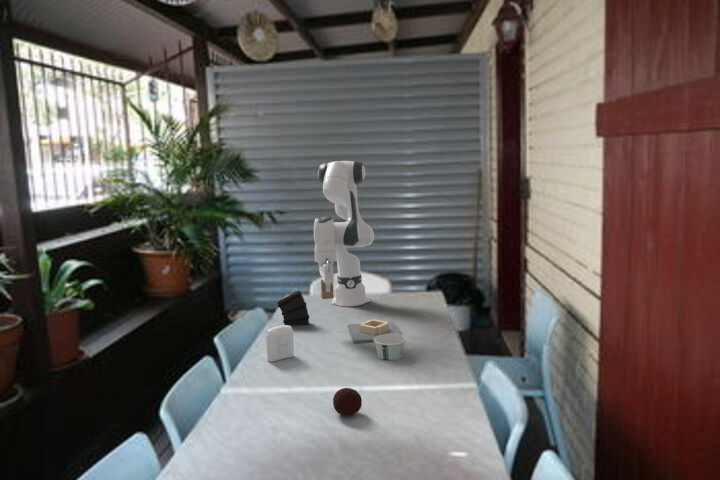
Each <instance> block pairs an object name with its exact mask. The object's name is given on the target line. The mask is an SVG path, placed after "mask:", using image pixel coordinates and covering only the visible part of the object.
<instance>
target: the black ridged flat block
mask: <svg viewBox="0 0 720 480" xmlns="http://www.w3.org/2000/svg"><path fill="white" fill-rule="evenodd" d="M302 294H303V293H302V292H301V291H300V290H297V291H295V292H293V293H291V294H289V295H288V296H286V297H284V298H282V299H280V300H278V301H277V302H276V304H277V307H278V308H279V309H280V311H281V316H282V317H283V320H282V323H283V325H288V326H291V327H293V326H309V324H310V314H309V312H308V311H309V310H308V307H307V302H306V301H305V297H304V296H303V295H302Z"/></svg>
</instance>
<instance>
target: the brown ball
mask: <svg viewBox="0 0 720 480" xmlns="http://www.w3.org/2000/svg"><path fill="white" fill-rule="evenodd" d="M362 399H363V398H362V396H361V394H360V393H359V392H358V391H357V390H356V389H354V388H351V387H344V388H340V389H338V390H337V391H336V392H335V394H334V395H333V397H332V405H333V408H334V410H335V412H336V413H338V414H339V415H341V416H346V417H348V416H353V415H356V414H357V413H359V411H360V410H361V409H362V406H363V404H362V401H363V400H362Z"/></svg>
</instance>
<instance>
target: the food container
mask: <svg viewBox="0 0 720 480" xmlns="http://www.w3.org/2000/svg"><path fill="white" fill-rule="evenodd" d="M406 341H407V337H406V336H404V334H403V335H399V334H383V335H379V336H376V337H375V338H374V342H373V343H374V345H375V348H376V349H375V350H376V353H377V358H379V359H380V360H384V361H396V360H400V359H402V358H403V357H404V352H405V343H406Z"/></svg>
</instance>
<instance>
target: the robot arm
mask: <svg viewBox="0 0 720 480" xmlns="http://www.w3.org/2000/svg"><path fill="white" fill-rule="evenodd" d="M317 176H318V177H317V178H318V180H319V182H320V183H321V184H322V193H323V196H324V197H325V198H326V200H327V201H329V202H330V203H333V204H334V212H335V214H336V215H337V216H338V217H339V218H341V219H343V220H345V221H340V222H339V221H334V218H333V217H332V216H329V215H321V216H318V217H316V218H315V219H314V222H313V241H314V249H313V250H314V262H315V263H317V265H318V269H319V270H318V271H319V275H320V277H321V278H322V279H321V280H323V281H324V283H325V285H326V292H330V286H331V284H333V285H334V282H335V278H334V277H335V276H334V267H333V265H334V264H335V262H336V264H337V278H336V279H337V281H336V282H337V285H336V286H335V287H334V288H333V294H334V298H332V300H331V305H335V306H341V307H356V306H361V305H364V304H366V303H370V299H369V298H368V297H367V296H366V285H365V284H363V283H362V281H363V280H362V279H363V278H362V274H361V261H360V259H359V258H360V257H358V256H357V255H355V254H353V253H351V252H349V251H348V250H347V249H348V248H349V249H350V248H364V247H368V246H371V245H372V243H373V242H374V239H375V233H374V229H373V228H372V227H371V226H370V225H369V224H368V223H367V222H365V221H364V220H363V218H362V216H361V214H360V210H359V202H358V200H359V199H358V189H357V186H359V184H362V183H363V182H364V181H365V178H366V169H365V166H364V164H363V162H362V161H359V160H353V161H351V160H340V161H339V160H335V161H331V162H330V161H329V162H328V161H327V162H326V161H325V162H322V163H321V164H320V165H319V167H318V170H317Z"/></svg>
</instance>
